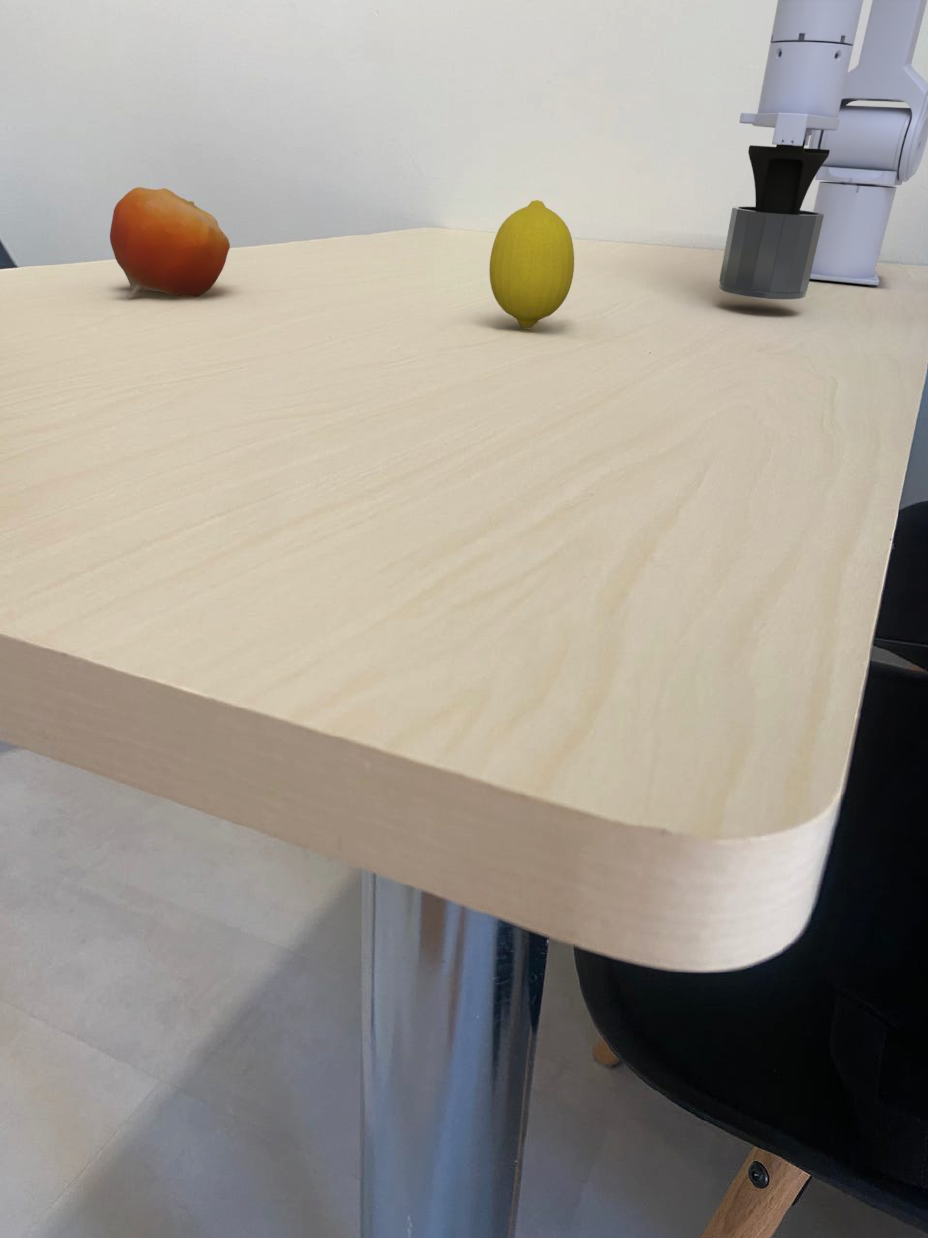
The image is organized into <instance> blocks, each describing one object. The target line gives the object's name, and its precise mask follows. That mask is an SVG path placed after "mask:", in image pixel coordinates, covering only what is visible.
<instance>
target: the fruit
mask: <svg viewBox="0 0 928 1238" xmlns="http://www.w3.org/2000/svg"><path fill="white" fill-rule="evenodd" d="M109 241H110V246H111V249H112V252H113V255H114V258H115V261H116V262H117V264H118V266H119V267H120V269H121V270H122V271H123V273H124V275H125V277H126V278H127V280H128V283H129V287H130V288H131V291H130V292H129V293H128V295H127V296H126V297H127V298H128V299H132V297H134V295H135V294H137V293H138V292H142V291H143V292H144V291H155V292H160V293H165V294H170V295H175V296H182V297H184V296H185V297H194V298H198V297H201V296H203V295H204V294H206V293H207V292H208V291H210V290H211V289H212V287H213V286H214V285H215V284H216V282H217V280H218V278H219V276H220V275H221V273H222V272H223V269H224V267H225V264H226V262H227V258H228V254H229V252H230V248H231V244H230V241H229V238H228V236H227V235H226V234H225V233H224V231H223V230H222V229H221V228H220V226H219V223H218V220H217V219H216V217H215V216H213V215H212V214H211V213H210V212H207V211H205V210H203V209H202V208H199V207H198V205H197V206H196V205H195V202H194V201H192V200H190V201H189V200H187V199H185V198H183V197H180V196H179V195H178V194H176V193H175V192H173V191H172V190H170V189H168V188H165V187H163V188H159V189H153V188H152V189H151V188H148V187H147V188H146V187H140V186H139V187H134V188H132V189H131V190H130V191H128V192H127V193H126V194H125V195H124V196H123V197H122V198H121V199H120V200H119V201H117V203H116V205H115V207H114V208H113V214H112V219H111V224H110V232H109Z"/></svg>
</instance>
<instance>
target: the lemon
mask: <svg viewBox="0 0 928 1238" xmlns="http://www.w3.org/2000/svg"><path fill="white" fill-rule="evenodd" d="M574 271H575V250H574V243H573V239H572V234H571V232H570V230H569V227H568V226H567V224H566V222H565V221H564V220H563V219H562V217H561V216H559V215H558V213H556V212H555V211H553V210H552V209H549V208H548V207H547V206H546V205H545V203H544V202H543V201H542V200H538V199H536V200H531V201H530V202H529V204H528V205H527V206H524V207H522V208H520V209H518V210H516V211H514V212H513V213H511V214H510V215H509V216H508V217H507V218H506V219H505V220H504V221H503V222H502V224H501V225H500V227H499V228H498V231H497V232H496V235H495V238H494V241H493V245H492V248H491V253H490V259H489V283H490V288H491V292H492V294H493V297H494V299H495V301H496V303H497V304H498V305H499V307H500V308H501V309H502V310H503V311H504V312H505V313H506V314H508V315H509V316H511V317H512V318H514V319H515V320H516V322H517V324H518V325H519V326H520V327H521V329H524V330H529V329H533V328H534V326H535V325H536V324H537V323H538V322H540V320H543V319H545V318H547V317H549V316H551V315H552V314H554V313H555V312H556V311H558V309H559V308H561V306H562V305H563V304H564V302H565V300H566V299H567V296H568V295H569V292H570V289H571V287H572V282H573V278H574Z"/></svg>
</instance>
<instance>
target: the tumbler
mask: <svg viewBox="0 0 928 1238" xmlns="http://www.w3.org/2000/svg"><path fill="white" fill-rule="evenodd" d="M755 206H756V205H754V206H752V205H750V206H747V205H740V206H739V205H737V206H733V207H732V208H731V213H730V218H729V223H728V224H729V225H728V229H727V236H726V240H725V246H724V247H725V248H724V253H723V259H722V264H721V270H720V275H719V282H718V283H719V284H718V289H719V290H720V291H723V292H725V293H728V294H732V295H737V296H742V297H747V298H756V299H757V298H758V299H767V300H800V299H804V298H806V297H807V292H808V288H809V284H810V280H811V279H810V275H811V271H812V266H813V262H814V257H815V253H816V248H817V244H818V239H819V235H820V230H821V226H822V222H823V217H824V214H822V213H818V212H813V210H803V209H800V211H799V214H798V215H796V214H780V213H768V212H759V211H755Z"/></svg>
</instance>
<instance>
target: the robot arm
mask: <svg viewBox="0 0 928 1238" xmlns="http://www.w3.org/2000/svg"><path fill="white" fill-rule="evenodd" d="M927 3H928V0H872V1H871V6H870V11H869V16H868V18H867V19H868V20H867V24H866V29H865V31H864V32H865V33H864V36H863V41H862V46H861V51H860V56H859V59H858V64H857V65H856V66H855V67H853V68H852V69H851V70H849V67H850V63H851V59H852V54H853V50H854V46H855V42H856V41H855V40H856V36H857V31H858V26H859V23H860V17H861V13H862V8H863V4H864V0H777V3H776V8H775V14H774V20H773V25H772V31H771V36H770V44H769V47H768V53H767V57H766V58H767V59H766V64H765V69H764V75H763V80H762V85H761V92H760V96H759V102H758V106H757V107H758V108H757V113H755V112H754V113H751V112H741V113H740V116H739V124H747V125H748V124H750V125H752V126H753V127H760V128H761V127H762V128H772V129H774V130H773V136H772V141H771V144H772V145H774V146H769V145H768V146H767V145H754V144H753V145H752V144H750V145H749V146H748V150H747V153H748V157H749V162H750V165H751V166H750V167H751V169H752V174H753V183H754V194H755V205H754V206H755V211H759V212H768V213H780V214H796V215H798V214H799V211H800V210H801V208H802V206H803V203H804V200H805V198H806V196H807V194H808V191H809V188H810V187H811V185H812V183H813V181H814V180H816V181H819V182H818V187H817V192H816V196H815V200H814V205H813V210H812V212H818V213H822V214H824V217H823V222H822V226H821V230H820V235H819V239H818V244H817V248H816V253H815V257H814V262H813V266H812V271H811V275H810V280H819V281H829V282H837V283H838V282H839V283H848V284H856V285H857V284H858V285H868V286H878V285H880V278H879V276H878V273H877V266H878V263H879V259H880V254H881V251H882V246H883V242H884V239H885V234H886V230H887V226H888V224H889V220H890V215H891V211H892V207H893V202H894V199H895V196H896V192H897V188H898V187H897V186H902V184H903V182H904V183H906V182H908V181H909V180H911V178H912V177H913V176H914V175H916V173H917V171H918V169H919V167H920V164H921V161H922V159H923V156H924V153H925V149H926V146H927V143H928V82H927V81H926V80H925V79H924V78H923V77H922V76H921V75H920V74H919V72H918V71H917V70H915V68H914V67H913V65H912V64H913V59H914V54H915V50H916V47H917V42H918V39H919V34H920V30H921V28H922V27H921V26H922V22H923V19H924V15H925V12H926V11H925V10H926V8H927V7H926V6H927ZM857 101H865V102H887V103H906V105H907V106H909V107H897V106H896V107H895V106H874V105H873V106H871V105H848V104H850V103H853V102H857ZM775 145H776V146H775ZM805 146H808V147H805Z"/></svg>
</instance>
